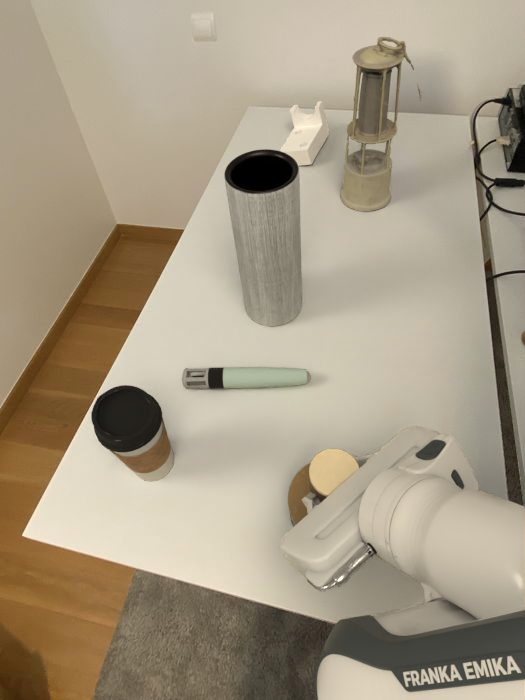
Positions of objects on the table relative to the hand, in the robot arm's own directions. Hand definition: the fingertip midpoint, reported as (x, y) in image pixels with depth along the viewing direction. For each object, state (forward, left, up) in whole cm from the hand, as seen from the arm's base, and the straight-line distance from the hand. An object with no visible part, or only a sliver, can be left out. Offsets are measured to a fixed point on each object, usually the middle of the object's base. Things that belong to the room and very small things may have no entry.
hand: (330, 481), depth 59 cm
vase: (+18, -32, -9) cm, 38 cm away
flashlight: (+17, -16, -9) cm, 25 cm away
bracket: (+27, -79, -9) cm, 84 cm away
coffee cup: (+25, +1, -9) cm, 27 cm away
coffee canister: (0, 0, -4) cm, 5 cm away
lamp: (+8, -66, -9) cm, 67 cm away
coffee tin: (-1, 0, -9) cm, 9 cm away
